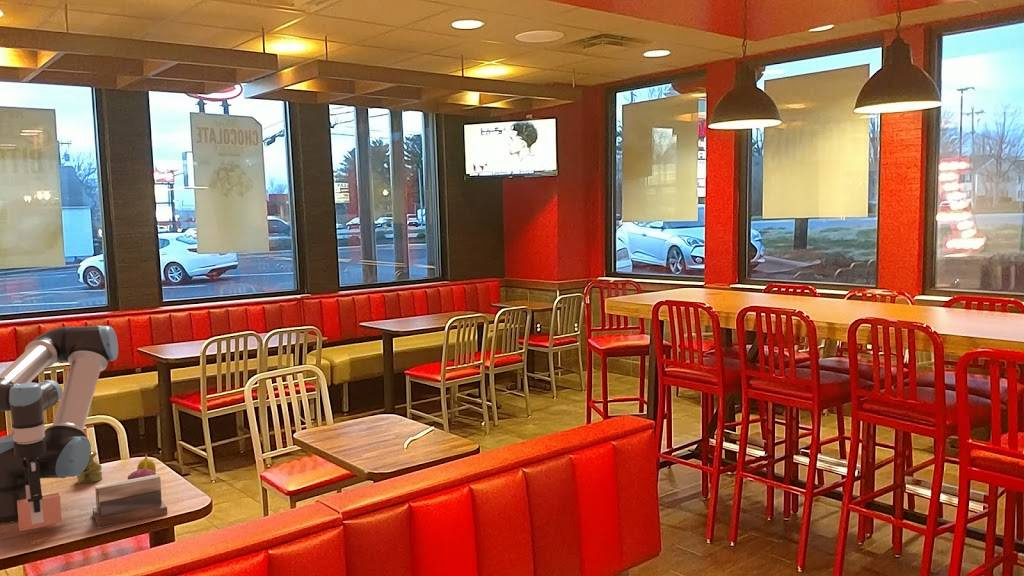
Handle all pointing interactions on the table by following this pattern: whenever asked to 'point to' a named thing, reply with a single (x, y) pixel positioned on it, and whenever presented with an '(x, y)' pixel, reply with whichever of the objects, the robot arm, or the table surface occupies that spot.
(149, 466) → the lemon
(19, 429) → the robot arm
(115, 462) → the table surface
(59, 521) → the stub
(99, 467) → the christmas tree figurine
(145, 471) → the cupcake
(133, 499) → the ticket holder
